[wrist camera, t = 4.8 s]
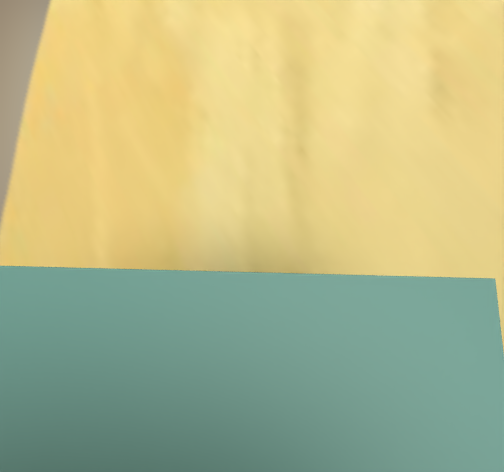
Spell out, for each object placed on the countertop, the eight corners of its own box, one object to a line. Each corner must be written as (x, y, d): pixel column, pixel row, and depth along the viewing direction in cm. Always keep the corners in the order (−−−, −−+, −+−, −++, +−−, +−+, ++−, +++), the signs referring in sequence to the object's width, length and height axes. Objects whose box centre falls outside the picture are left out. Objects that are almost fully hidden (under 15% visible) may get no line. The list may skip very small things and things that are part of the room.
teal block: (344, 508, 14) (606, 1265, 2) (172, 495, 15) (-269, 1062, 3) (341, 328, 16) (494, 279, 4) (186, 323, 16) (-72, 263, 5)
